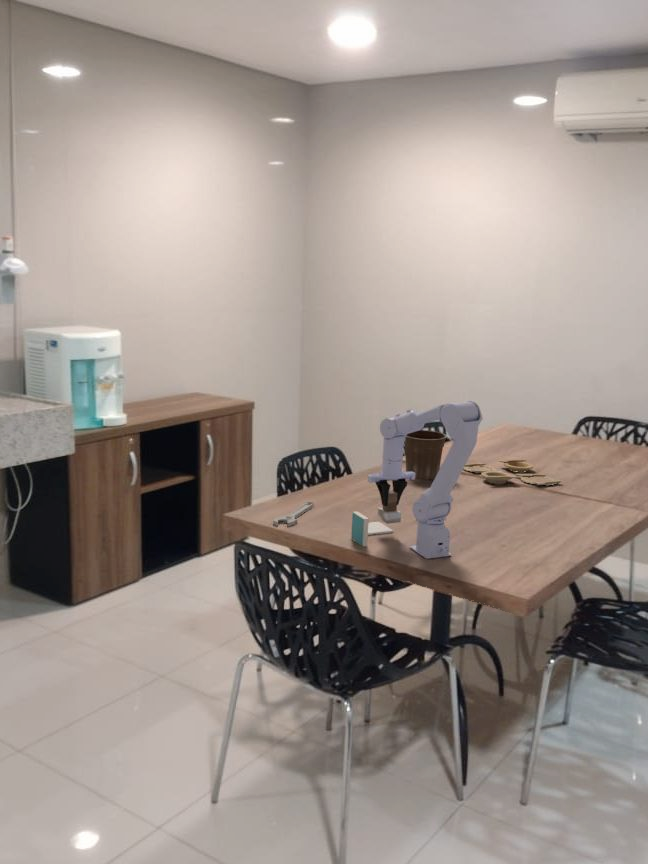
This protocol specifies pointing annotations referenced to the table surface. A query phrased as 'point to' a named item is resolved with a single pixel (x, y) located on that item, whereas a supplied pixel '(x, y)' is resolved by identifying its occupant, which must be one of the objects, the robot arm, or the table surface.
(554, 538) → the table surface
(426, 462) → the plant pot
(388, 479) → the robot arm
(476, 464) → the tableware set
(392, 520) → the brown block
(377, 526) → the mat
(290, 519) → the adjustable wrench
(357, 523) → the tile
